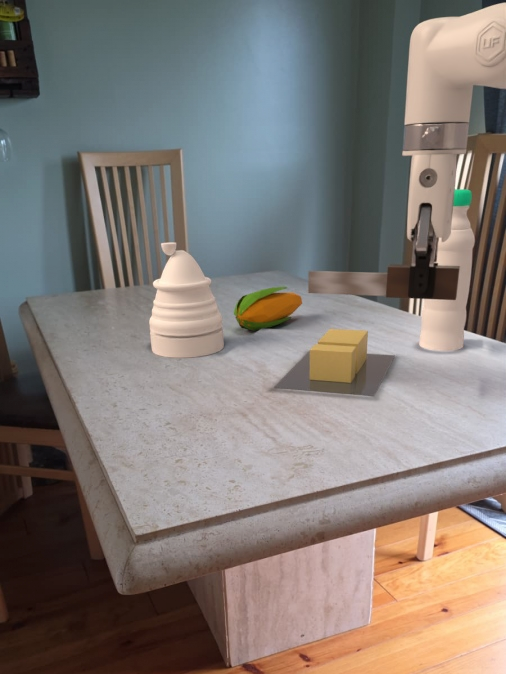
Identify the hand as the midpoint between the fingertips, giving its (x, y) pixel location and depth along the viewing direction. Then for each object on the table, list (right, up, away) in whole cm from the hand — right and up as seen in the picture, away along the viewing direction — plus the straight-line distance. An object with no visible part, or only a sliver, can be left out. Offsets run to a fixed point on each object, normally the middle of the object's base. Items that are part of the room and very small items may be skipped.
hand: (421, 294), depth 83 cm
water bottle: (+9, -4, +22) cm, 24 cm away
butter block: (-9, -8, +13) cm, 17 cm away
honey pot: (-34, -3, +28) cm, 45 cm away
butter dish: (-10, -10, +10) cm, 17 cm away
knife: (-5, 0, +2) cm, 6 cm away
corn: (-19, +4, +43) cm, 47 cm away
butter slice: (-11, -10, +7) cm, 17 cm away
